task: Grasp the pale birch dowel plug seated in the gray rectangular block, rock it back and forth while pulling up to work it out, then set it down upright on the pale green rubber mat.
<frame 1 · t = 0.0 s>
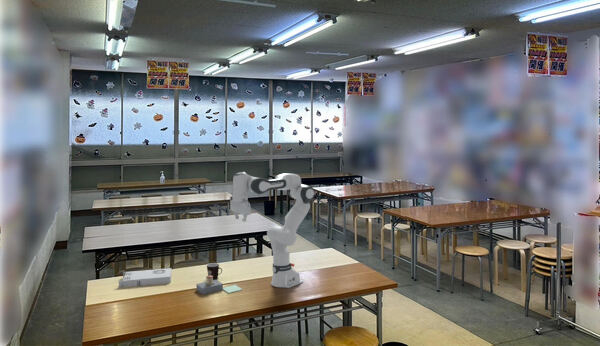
hand: (240, 220, 258), 48 cm above the table, fingers open, 8 cm apart
coffee mug: (214, 279, 290), on the table
mat: (231, 289, 271), on the table
gray rectangular block: (209, 289, 270), on the table
power supply unit: (146, 281, 288), on the table
plug: (209, 283, 270), in the gray rectangular block
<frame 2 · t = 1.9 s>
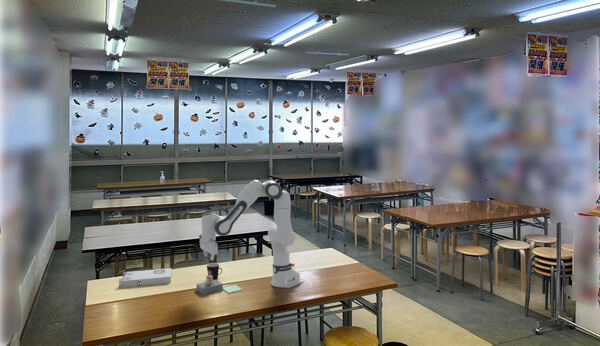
hand: (209, 258, 268), 21 cm above the table, fingers open, 8 cm apart
nothing on the table moved.
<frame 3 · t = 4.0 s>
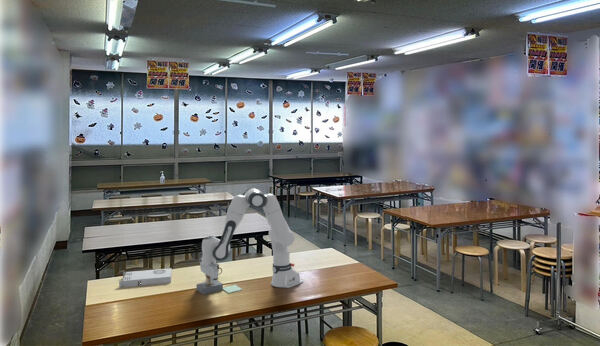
hand: (209, 281, 270), 6 cm above the table, fingers closed on plug, 4 cm apart
plug: (209, 283, 270), in the gray rectangular block, touching gripper
everything else where it was.
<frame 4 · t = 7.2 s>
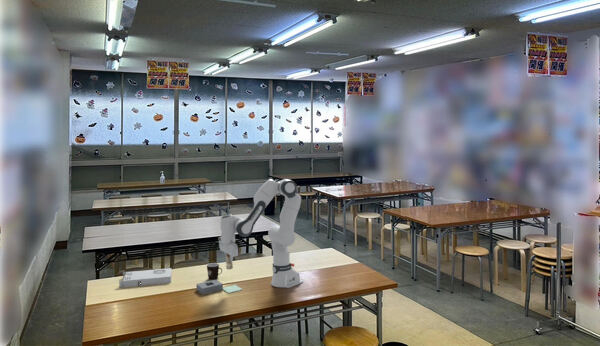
hand: (229, 259, 269), 20 cm above the table, fingers closed on plug, 4 cm apart
plug: (229, 261, 269), point 19 cm above the table, touching gripper
everything else where it was.
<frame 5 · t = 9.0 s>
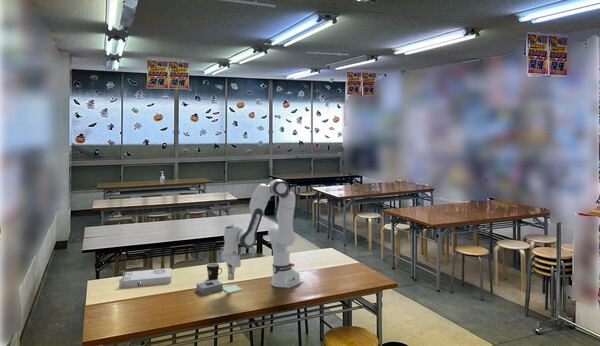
hand: (231, 270, 270), 13 cm above the table, fingers closed on plug, 4 cm apart
plug: (231, 272, 270), point 12 cm above the table, touching gripper
everything else where it was.
when the fingers open (8 cm above the table, at t = 10.3 s): plug drops 1 cm, resting on mat.
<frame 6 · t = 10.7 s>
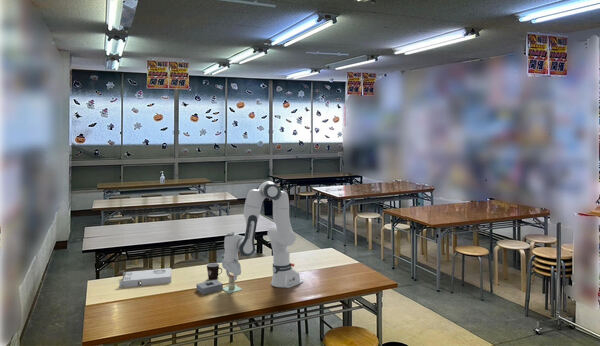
hand: (231, 278, 270), 8 cm above the table, fingers open, 8 cm apart
plug: (231, 282, 270), on the mat
everything else where it was.
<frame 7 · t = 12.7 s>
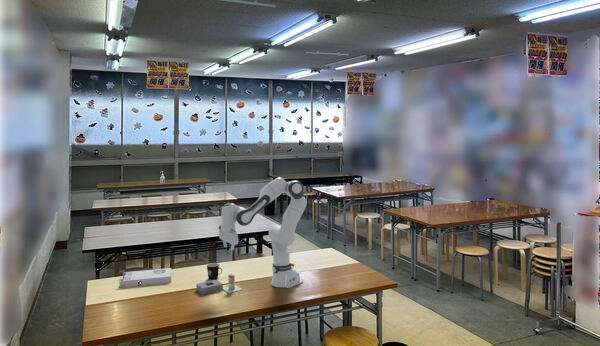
hand: (228, 248, 272), 27 cm above the table, fingers open, 8 cm apart
nothing on the table moved.
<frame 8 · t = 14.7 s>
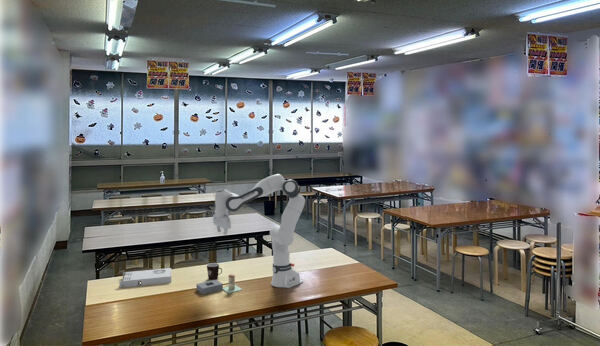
hand: (222, 233, 282), 34 cm above the table, fingers open, 8 cm apart
nothing on the table moved.
at the end: plug 0.1 cm from the mat (horizontally); plug tilted 0°; the gripper is holding nothing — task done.
